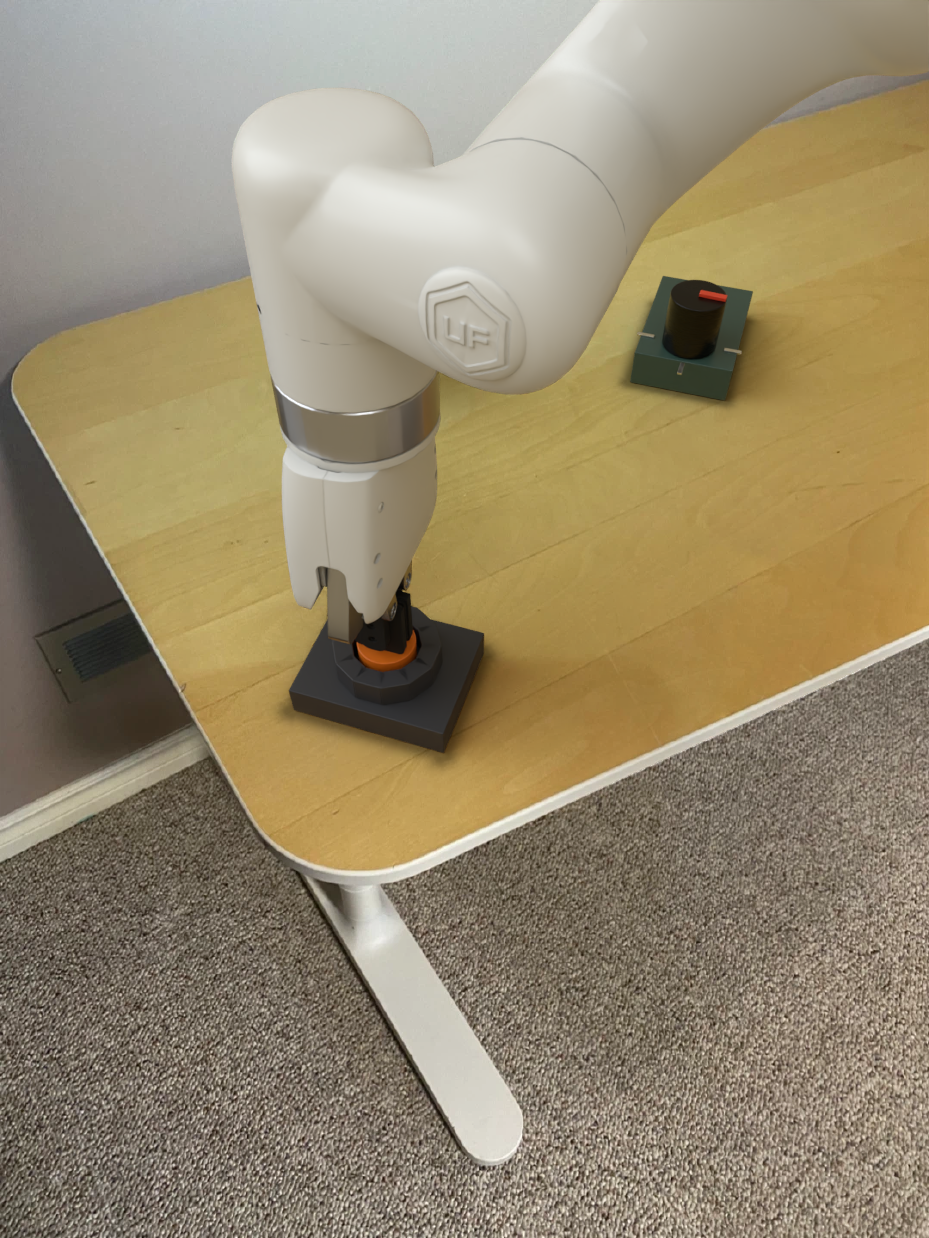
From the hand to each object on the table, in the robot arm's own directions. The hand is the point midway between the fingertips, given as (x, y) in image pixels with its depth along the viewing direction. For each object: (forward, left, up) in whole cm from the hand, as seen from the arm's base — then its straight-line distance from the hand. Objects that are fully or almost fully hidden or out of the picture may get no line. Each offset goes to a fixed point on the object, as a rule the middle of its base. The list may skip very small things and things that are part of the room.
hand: (383, 638), depth 58 cm
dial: (-12, -38, -1) cm, 39 cm away
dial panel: (-12, -41, -4) cm, 43 cm away
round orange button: (0, 0, -2) cm, 2 cm away
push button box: (0, 0, -4) cm, 4 cm away
